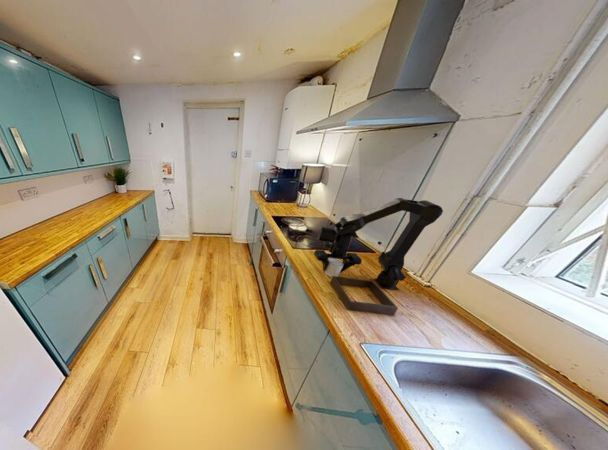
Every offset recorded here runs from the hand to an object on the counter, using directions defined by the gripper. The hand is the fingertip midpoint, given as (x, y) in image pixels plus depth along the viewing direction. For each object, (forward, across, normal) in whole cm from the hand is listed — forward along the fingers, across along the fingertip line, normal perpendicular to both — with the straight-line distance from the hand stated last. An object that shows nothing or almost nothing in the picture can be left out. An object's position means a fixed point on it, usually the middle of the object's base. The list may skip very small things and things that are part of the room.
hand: (331, 271), depth 96 cm
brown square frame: (+1, -5, +15) cm, 16 cm away
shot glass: (+2, 0, 0) cm, 2 cm away
